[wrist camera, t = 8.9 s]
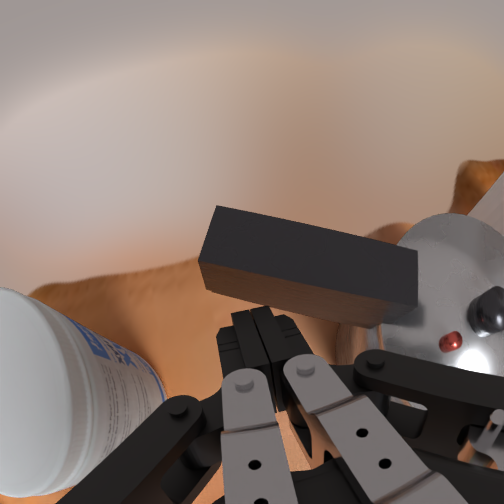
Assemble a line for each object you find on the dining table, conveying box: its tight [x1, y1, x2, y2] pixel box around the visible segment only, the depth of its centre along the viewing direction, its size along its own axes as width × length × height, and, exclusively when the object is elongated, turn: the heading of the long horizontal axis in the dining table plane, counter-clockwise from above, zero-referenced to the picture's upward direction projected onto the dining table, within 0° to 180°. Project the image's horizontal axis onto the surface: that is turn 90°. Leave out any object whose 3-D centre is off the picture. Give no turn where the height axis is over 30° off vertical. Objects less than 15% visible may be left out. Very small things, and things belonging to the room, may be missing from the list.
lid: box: [198, 206, 504, 410], centre depth 15 cm, size 24×15×4 cm, turn 77°
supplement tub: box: [0, 287, 167, 498], centre depth 15 cm, size 10×10×15 cm
